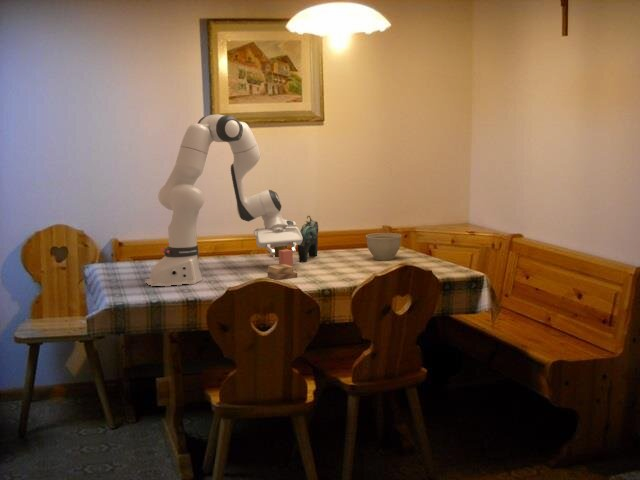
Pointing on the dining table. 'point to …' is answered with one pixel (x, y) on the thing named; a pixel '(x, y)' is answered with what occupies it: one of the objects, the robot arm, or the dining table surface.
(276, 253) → the condiment
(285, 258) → the brick-red pillar
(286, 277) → the walnut base slab
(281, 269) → the oak top slab
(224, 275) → the dining table surface
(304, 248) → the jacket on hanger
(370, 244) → the planter bowl
